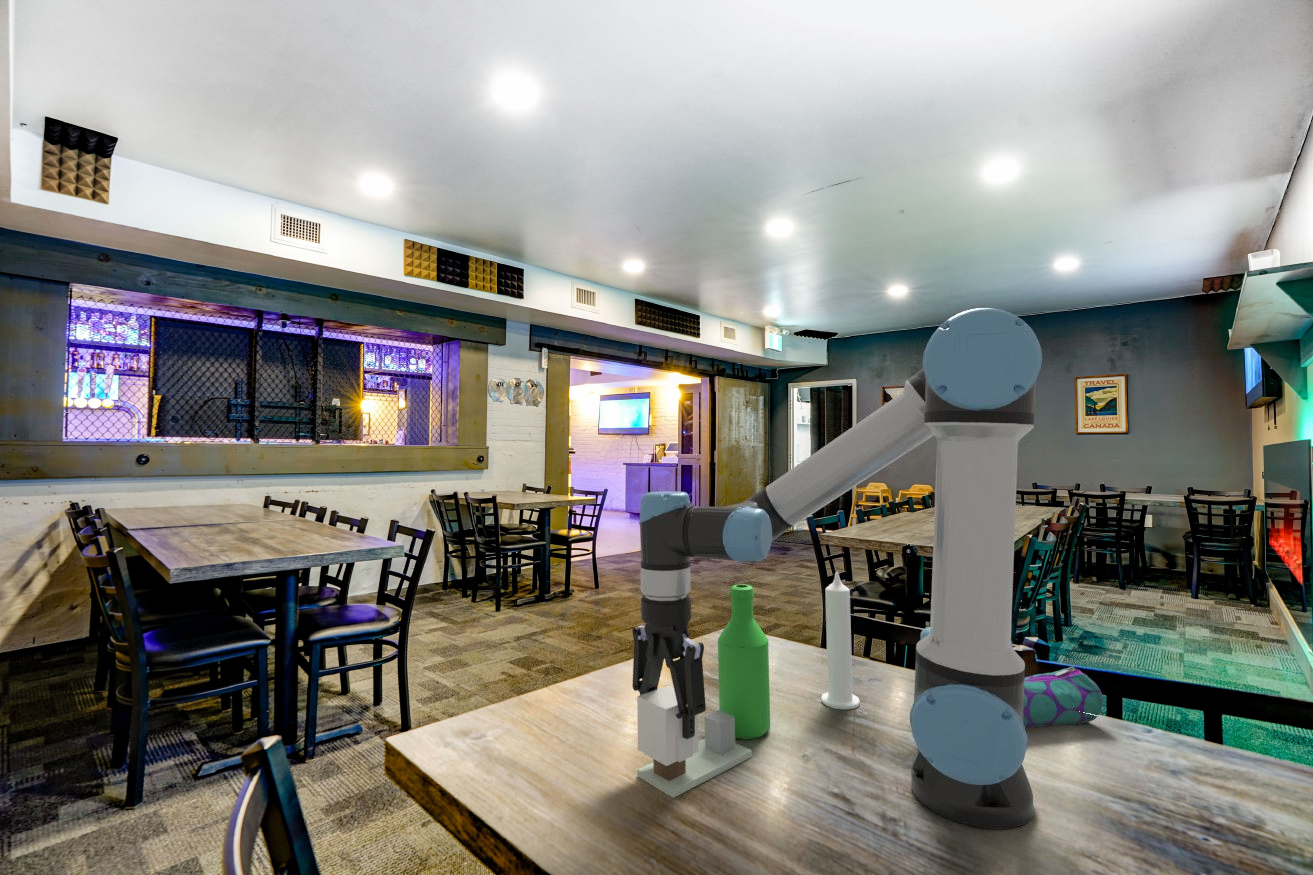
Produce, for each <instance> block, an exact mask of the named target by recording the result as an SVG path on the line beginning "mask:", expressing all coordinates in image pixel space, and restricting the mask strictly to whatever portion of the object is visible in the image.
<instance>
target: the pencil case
mask: <svg viewBox="0 0 1313 875" xmlns="http://www.w3.org/2000/svg"><path fill="white" fill-rule="evenodd" d="M1024 678H1025V679H1024V708H1023V724H1024V726H1025V728H1031V727H1041V726H1044V727H1045V726H1046V727H1047V726H1064V725H1065V726H1066V725H1076V724H1081V723H1082V724H1083V723H1089V722H1092V721H1095V719H1097V717H1098V716H1099V715H1100V713H1101V712H1102V709H1103V706H1104V695H1103V693H1102V691H1101V689H1100V687H1099V686H1098V685H1097V683H1096V682H1095V681H1093V680H1092V679H1091V678H1090V677H1089V675H1087V674H1085V673H1083V672H1082V671H1081V670H1080V669H1077V668H1076V667H1074V666H1070V667H1067V668H1063V669H1060V670H1056V671H1053V672H1046V673H1039V674H1033V675H1029V676H1025V677H1024ZM1079 711H1080V712H1079ZM1083 712H1085V713H1083ZM1086 713H1091V714H1095V715H1098V716H1094V715H1090V714H1086Z"/></svg>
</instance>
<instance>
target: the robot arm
mask: <svg viewBox="0 0 1313 875" xmlns="http://www.w3.org/2000/svg"><path fill="white" fill-rule="evenodd" d="M1042 363H1043V352H1042V347H1041V344H1040V342H1039V340H1038V337H1037V335H1036V333H1035V332H1034V331H1033V329H1032V328H1031V327H1030V325H1028V323H1026V321H1024V320H1023V319H1022V318H1020V317H1019V316H1017V315H1015V314H1013V313H1011V312H1009V311H1005V310H1004V309H999V308H991V307H990V308H989V307H985V308H984V307H983V308H982V307H981V308H972V309H969V310H965V311H962V312H960V313H957V314H956V315H953V316H951V317H950V318H948V319H947V320H945V321H944V322H943V323H942V324H940V325H939V327H937V329H936V330H935V331H934V332H933V333H932V335H931V337H930V339H929V340H928V341H927V343H926V347H925V349H924V351H923V356H922V368H921V369H920V370H919V371H918V372H917V373H915V374H914V375H912V376H911V377H910V378H909V379H907V380H905V381H904V383H905V384H904V388H903V391H902V392H901V393H899V394H898V395H897V396H895V397H893V398H892V399H891V400H890V401H888V402H887V403H885V404H883V405H882V406H881V407H878V409H876V410H875V411H874V412H872V413H870V415H867V416H866V417H865V418H863V419H862V420H861V421H859V422H858V423H856V424H855V425H853V426H852V427H851V428H848V430H846V431H844V432H843V433H842V434H840V435H839V436H837V437H836V438H834V439H833V440H832V441H830V442H828V443H827V444H825V445H824V446H823V447H821V448H820V449H819V450H817V451H816V452H814V453H813V454H811V455H810V456H809V457H808V456H807V458H806V459H804V460H802V461H801V462H800V463H799V464H797V465H796V466H794V467H793V468H791V469H790V470H788V471H786V473H784V474H783V475H781V476H780V477H778V478H777V479H775V480H774V481H773V482H771V483H769V484H768V485H767V486H766V487H763V488H762V489H761V490H760V491H758V492H756V493H755V494H754V495H752V496H751V497H749V498H748V499H746V500H744V501H742V502H739V503H735V504H729V505H726V506H700V505H699V506H698V505H694V504H691V501H690V494H688V493H687V492H685V491H678V490H675V491H673V490H672V491H671V490H670V491H669V490H664V491H659V490H658V491H650V492H645V493H644V494H643V495H642V497H641V498H640V507H639V508H640V509H639V510H640V511H639V513H640V514H639V521H638V524H639V531H640V538H639V540H640V592H641V594H642V597H641V599H640V610H641V611H640V613H641V615H640V617H641V621H642V622H643V623H644V625H639V626H638V625H637V626H634V627H632V629H631V631H632V638H633V643H634V644H633V663H632V666H633V667H632V689H633V691H635V692H638V693H639V696H640V695H642V694H645V693H648V692H651V691H654V690H657V689H659V687H658V686H659V683H660V678H661V674H662V670H663V666H664V661H665V665H666V668H668V669H669V671H670V672H669V673H670V676H671V681H672V685H673V686H672V687H674V691H675V695H676V700H677V704H678V709H679V713H678V714H676V715H675V726H676V761H678V762H681V761H683V760H685V759H687V758H690V757H692V756H693V737H694V735H695V715H697V714H698V715H699V714H702V713H704V712H706V711H707V706H706V695H705V694H706V693H705V679H704V667H703V666H704V665H703V664H704V663H703V657H704V651H705V646H704V643H703V642H702V641H701V642H695V641H693V640H692V639H691V638H690V633H689V631H688V624H690V623H689V622H690V621H691V619H692V598H691V596H690V595H689V593H690V592H691V558H696V559H697V558H700V559H702V558H703V559H711V560H712V559H713V560H723V561H725V560H726V561H734V562H735V561H736V562H737V563H745V562H762V561H764V560H765V559H767V556H768V554H769V552H770V550H771V547H772V542H774V541H776V540H777V539H778V538H779V537H780V536H781V535H782V534H785V533H786V532H787V531H789V530H790V529H791V528H793V527H794V526H796V525H797V524H799V523H800V522H802V521H803V520H805V519H806V518H808V517H810V516H811V515H813V514H814V513H816V512H818V511H819V510H821V509H822V508H824V507H825V506H827V505H828V504H830V503H831V502H833V501H834V500H836V499H837V498H839V497H840V496H842V495H844V494H846V492H849V491H850V490H852V489H853V488H855V487H856V486H857V485H860V484H861V483H863V482H864V481H865V480H867V479H869V478H871V477H872V476H873V475H875V474H877V472H879V471H881V470H882V469H884V468H886V467H888V466H889V465H891V464H892V463H893V462H895V461H896V460H898V459H899V458H901V457H903V456H904V455H906V454H907V453H908V452H910V451H912V450H913V449H915V448H917V447H918V446H919V445H921V444H923V443H924V442H927V440H929V439H930V438H932V437H935V438H936V439H935V440H936V460H935V462H936V465H935V467H936V468H935V489H934V491H935V493H934V494H935V495H934V517H933V519H934V520H933V544H932V545H933V548H932V571H931V572H932V573H931V577H932V578H931V600H930V626H927V627H925V628H923V629H922V630H921V632H920V640H919V641H918V642H917V643H916V647H915V671H914V695H913V704H912V707H911V708H910V713H909V725H910V728H911V733H912V737H913V741H914V743H915V745H916V747H917V751H916V753H915V756H914V759H913V762H912V765H911V770H910V780H911V790H912V792H913V794H914V796H915V798H916V799H918V801H919V802H921V803H922V805H924V806H925V807H927V808H928V809H929V810H932V811H933V812H934V813H937V814H938V815H940V816H941V817H942V816H943V817H944V818H947V819H949V820H951V821H954V822H958V823H961V824H963V825H968V826H970V827H971V826H973V827H978V828H982V829H984V828H985V829H994V830H995V829H997V830H998V829H999V830H1000V829H1003V830H1004V829H1012V828H1017V827H1020V826H1023V825H1024V824H1027V823H1028V822H1030V820H1031V819H1032V818H1033V817H1034V794H1033V789H1032V787H1031V784H1030V781H1029V778H1028V775H1027V773H1026V770H1025V768H1024V766H1023V763H1024V760H1025V757H1026V752H1027V750H1028V745H1029V744H1028V743H1029V740H1028V739H1029V738H1028V733H1027V732H1026V727H1025V726H1024V724H1023V708H1024V679H1025V678H1026V676H1025V672H1026V670H1025V669H1026V668H1025V667H1026V663H1025V661H1024V659H1023V658H1022V657H1021V656H1020V655H1019V654H1018V653H1017V652H1016V651H1015V650H1014V648H1013V646H1014V645H1013V642H1012V615H1013V613H1012V612H1013V611H1012V610H1013V587H1014V585H1013V584H1014V563H1015V562H1014V560H1015V559H1014V558H1015V534H1016V533H1015V532H1016V510H1017V508H1016V504H1017V503H1016V502H1017V483H1018V482H1017V477H1018V456H1019V455H1018V452H1019V451H1018V450H1019V442H1020V440H1021V439H1022V438H1023V437H1025V436H1026V435H1027V434H1028V433H1029V432H1031V431H1032V430H1033V429H1034V428H1035V407H1036V384H1037V382H1036V381H1037V378H1038V377H1039V375H1040V371H1041V369H1042ZM686 705H687V706H686Z"/></svg>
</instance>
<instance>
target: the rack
mask: <svg viewBox="0 0 1313 875" xmlns="http://www.w3.org/2000/svg"><path fill="white" fill-rule="evenodd" d="M752 757H753V754H752V750H751V749H750V748H748V747H745V746H743V745H741V744H739V743H736V737H735V717H734V716H732V715H729V714H727V713H724V712H722V711H720V710H719V709H718V710H717V711H715V712H711V713H709V714H706V715H705V716H704V738H703V739H700V740H698V752H696V753H694V754H693V756H692V757H690V758H687V759H686V773H684V774H682V775H680V776H678V777H676V778H674V779H672V780H670V781H668V780H666V779H664V778H663V777H661V776H659V775H658V774H656V773H654V764H653V761H652V762H650V763H648V764H646V765H644V766H642V767H640V768H637V769H636V772H637V774H636V775H637V777H638V778H639V779H641V780H643V781H644V782H647V783H648V785H649V784H650V785H652V786H653V787H655V788H656V789H658V790H659V791H661V792H662V793H665V794H666V795H667V796H669V797H670V798H671V799H674V798H676V797H678V796H680V795H681V794H684V793H685V792H688V791H689V790H691V789H693V788H695V787H697V786H699V785H701V784H703V783H704V782H707V781H708V780H710V779H712V778H714V777H716V776H719V775H720V774H723V773H724V772H726V771H727V770H730V769H732V768H733V767H735V766H737V765H739V764H741V763H743V762H745V761H746V760H749V759H751V758H752Z"/></svg>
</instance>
